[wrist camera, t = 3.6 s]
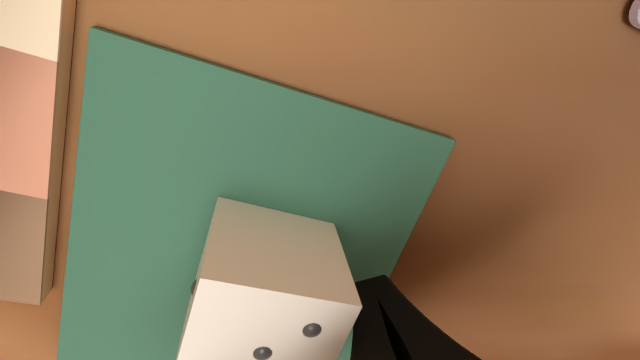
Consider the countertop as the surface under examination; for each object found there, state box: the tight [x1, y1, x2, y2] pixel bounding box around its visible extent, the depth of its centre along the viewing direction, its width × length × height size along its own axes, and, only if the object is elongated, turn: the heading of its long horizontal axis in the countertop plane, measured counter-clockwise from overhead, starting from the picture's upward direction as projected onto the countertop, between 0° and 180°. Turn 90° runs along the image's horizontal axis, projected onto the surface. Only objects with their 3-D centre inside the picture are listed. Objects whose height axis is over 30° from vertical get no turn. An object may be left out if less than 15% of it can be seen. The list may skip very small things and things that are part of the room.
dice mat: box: [57, 26, 456, 360], centre depth 13 cm, size 11×12×1 cm
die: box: [176, 196, 362, 360], centre depth 11 cm, size 4×4×4 cm
